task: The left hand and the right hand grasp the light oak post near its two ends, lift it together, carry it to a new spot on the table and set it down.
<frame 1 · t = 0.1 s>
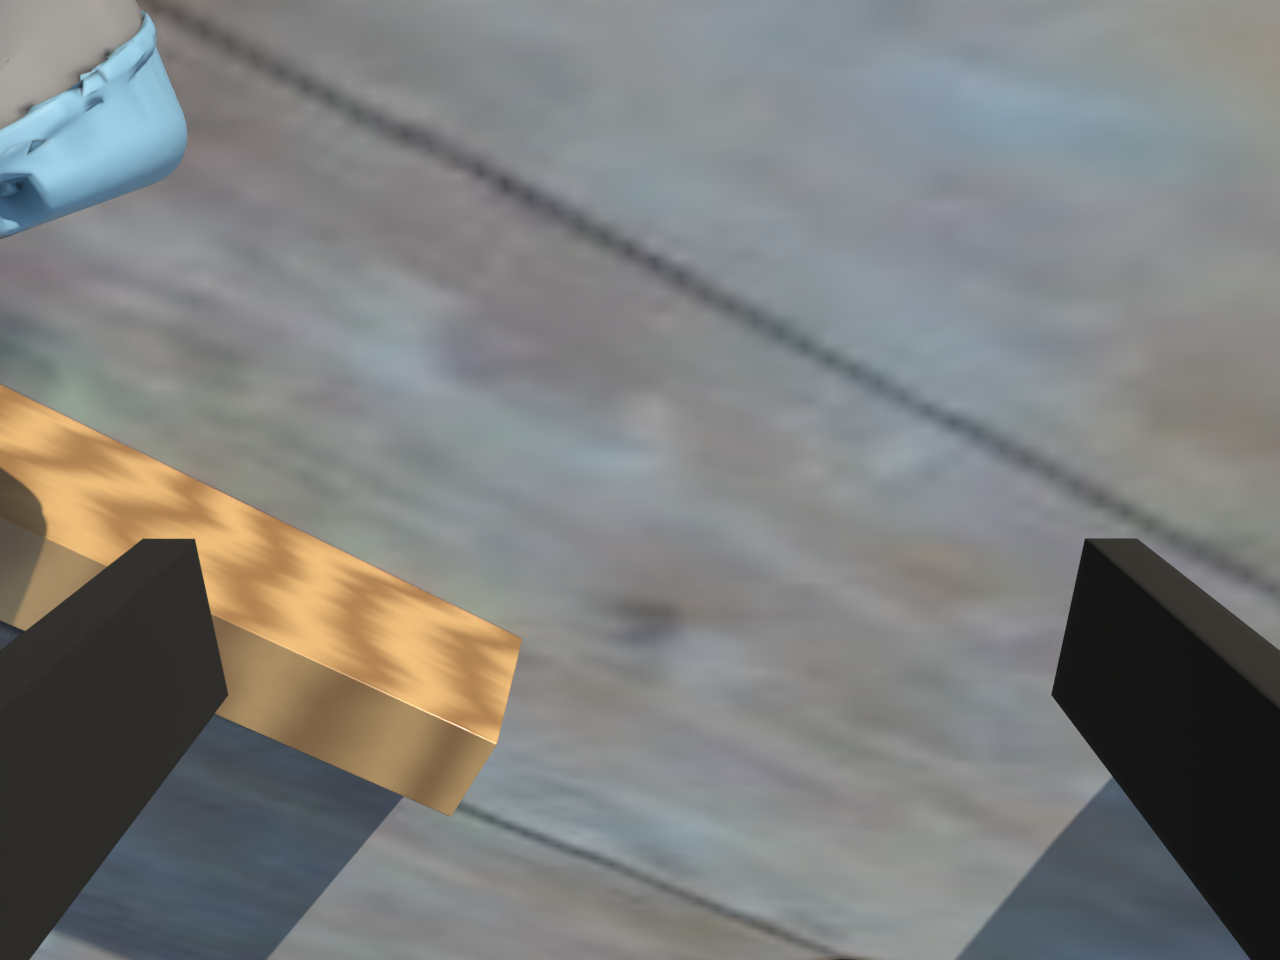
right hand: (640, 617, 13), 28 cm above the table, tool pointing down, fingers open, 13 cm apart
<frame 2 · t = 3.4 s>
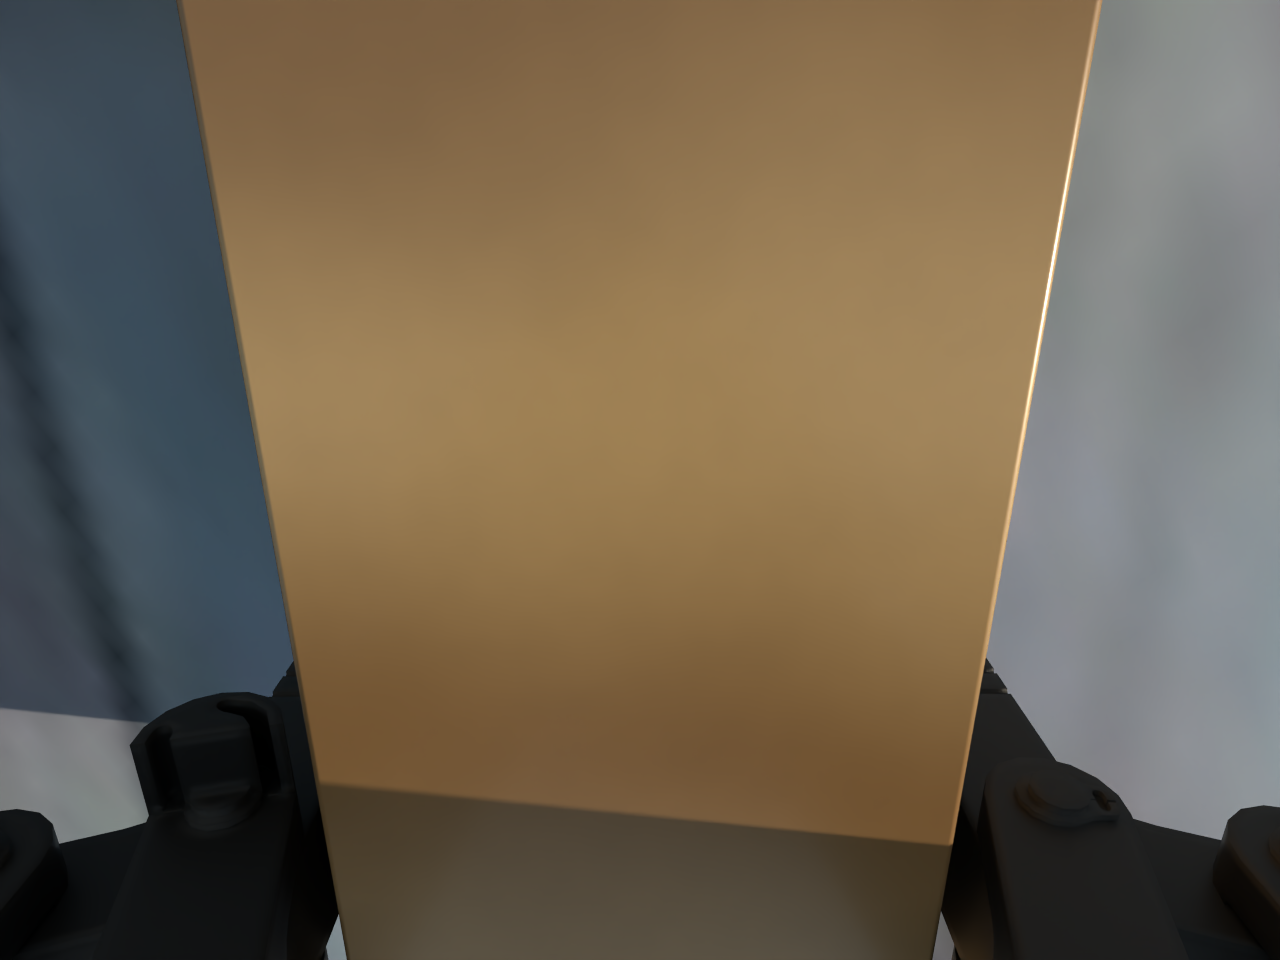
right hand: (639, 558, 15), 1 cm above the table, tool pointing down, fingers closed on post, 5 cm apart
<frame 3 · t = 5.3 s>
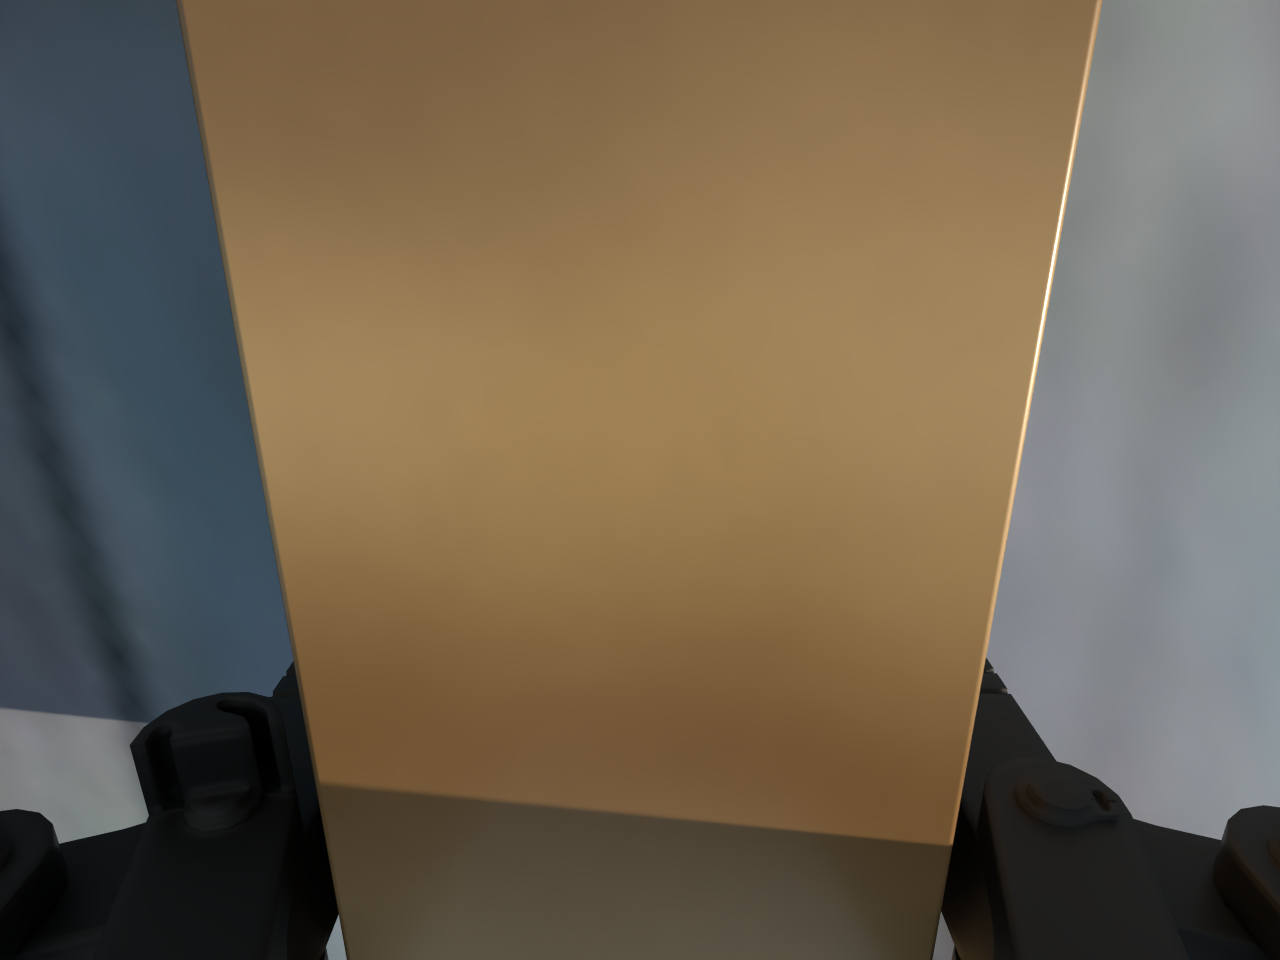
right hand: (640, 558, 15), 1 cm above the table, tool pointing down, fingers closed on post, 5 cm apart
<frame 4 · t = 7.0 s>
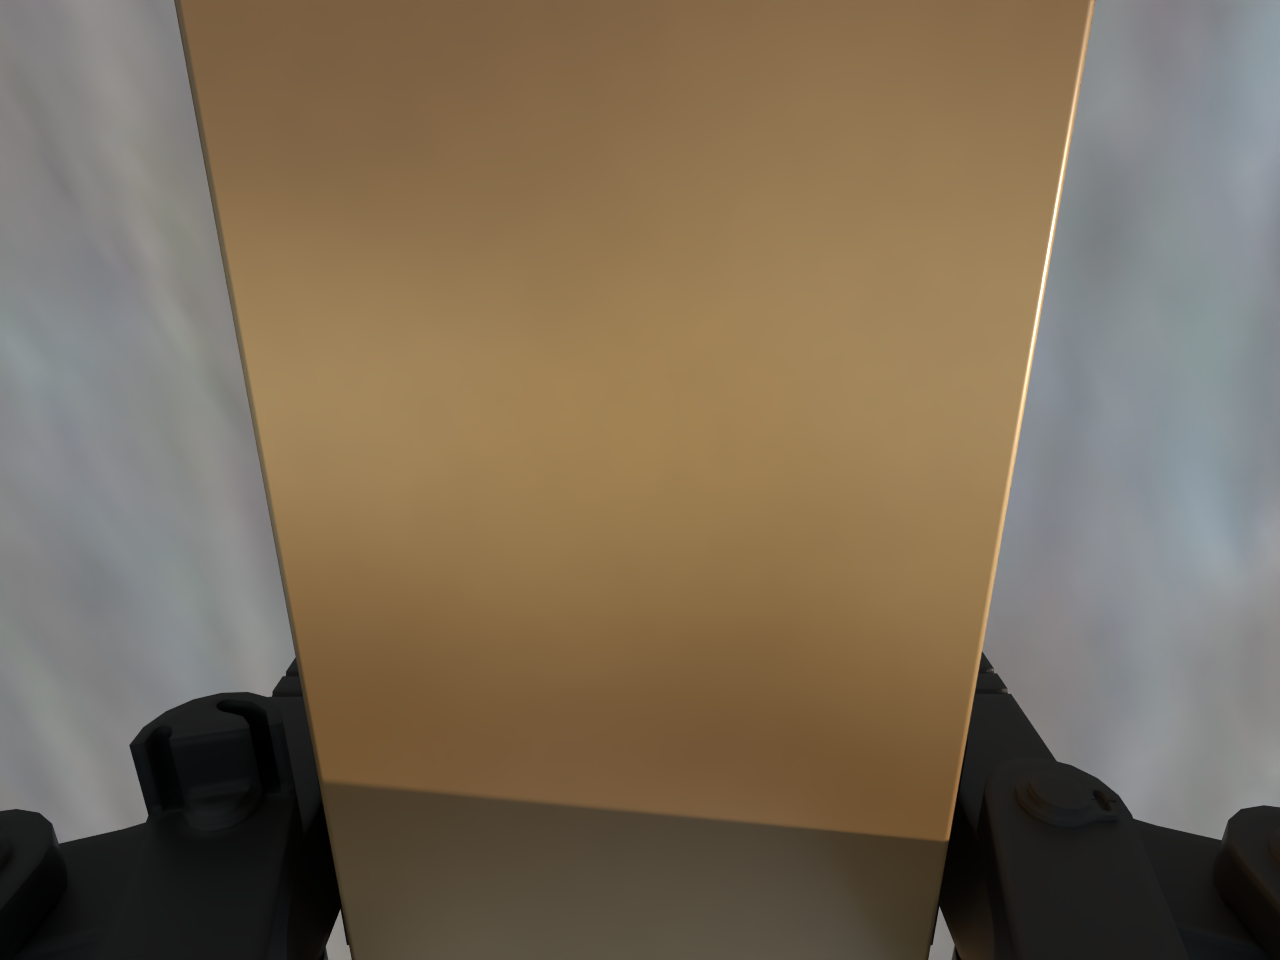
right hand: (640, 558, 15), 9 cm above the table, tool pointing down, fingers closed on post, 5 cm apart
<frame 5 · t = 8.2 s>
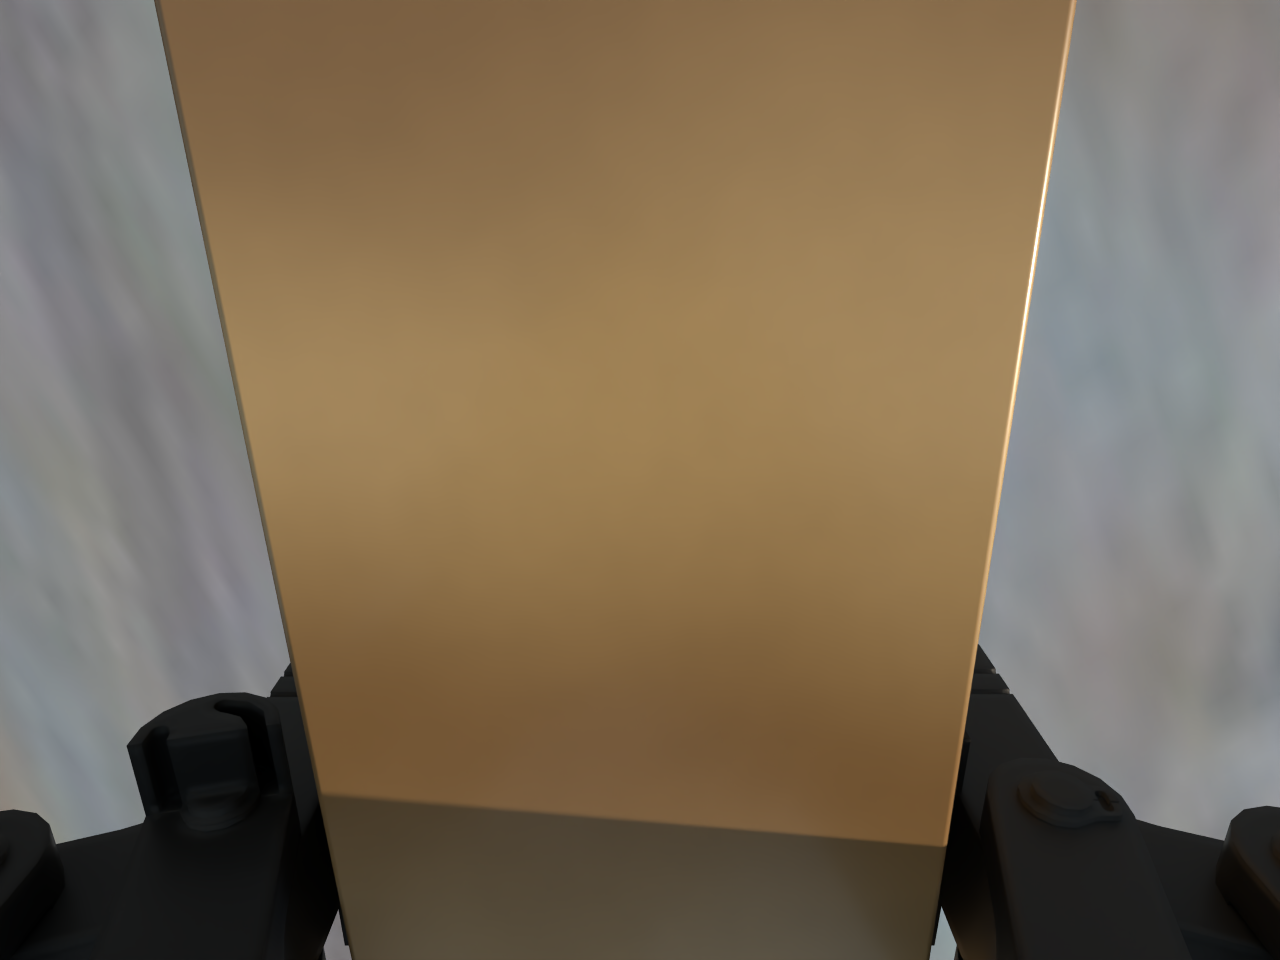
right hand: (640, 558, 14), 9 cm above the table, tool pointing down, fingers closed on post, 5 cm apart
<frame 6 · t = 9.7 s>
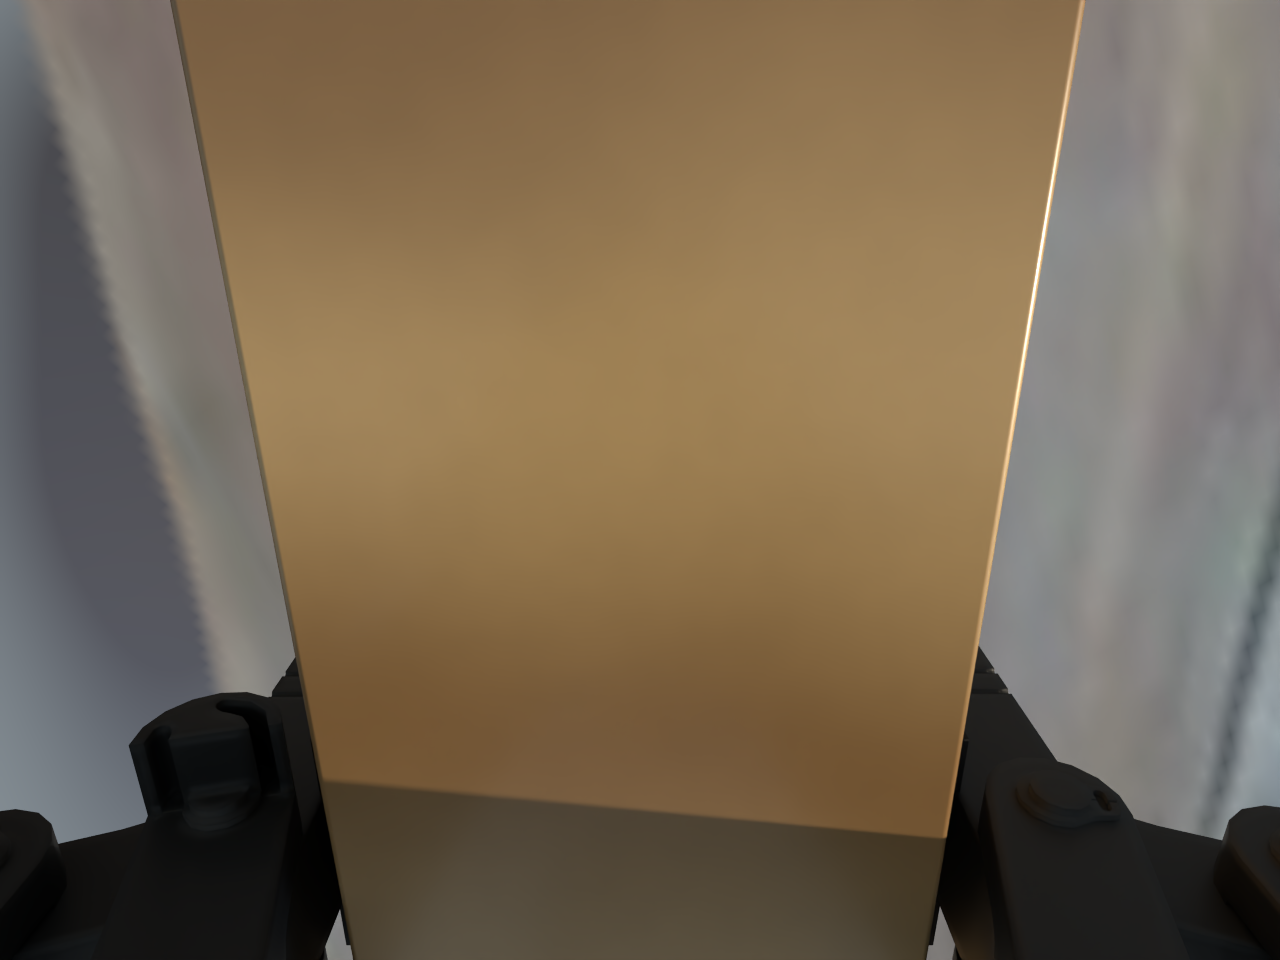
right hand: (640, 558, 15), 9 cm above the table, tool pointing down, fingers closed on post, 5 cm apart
when the left hand's fingers open (1 cm above the table, at t = 11.1 s): post stays where it is, on the table.
when the right hand's fingers open (2 cm above the table, at t = 11.1 s): post stays where it is, on the table.
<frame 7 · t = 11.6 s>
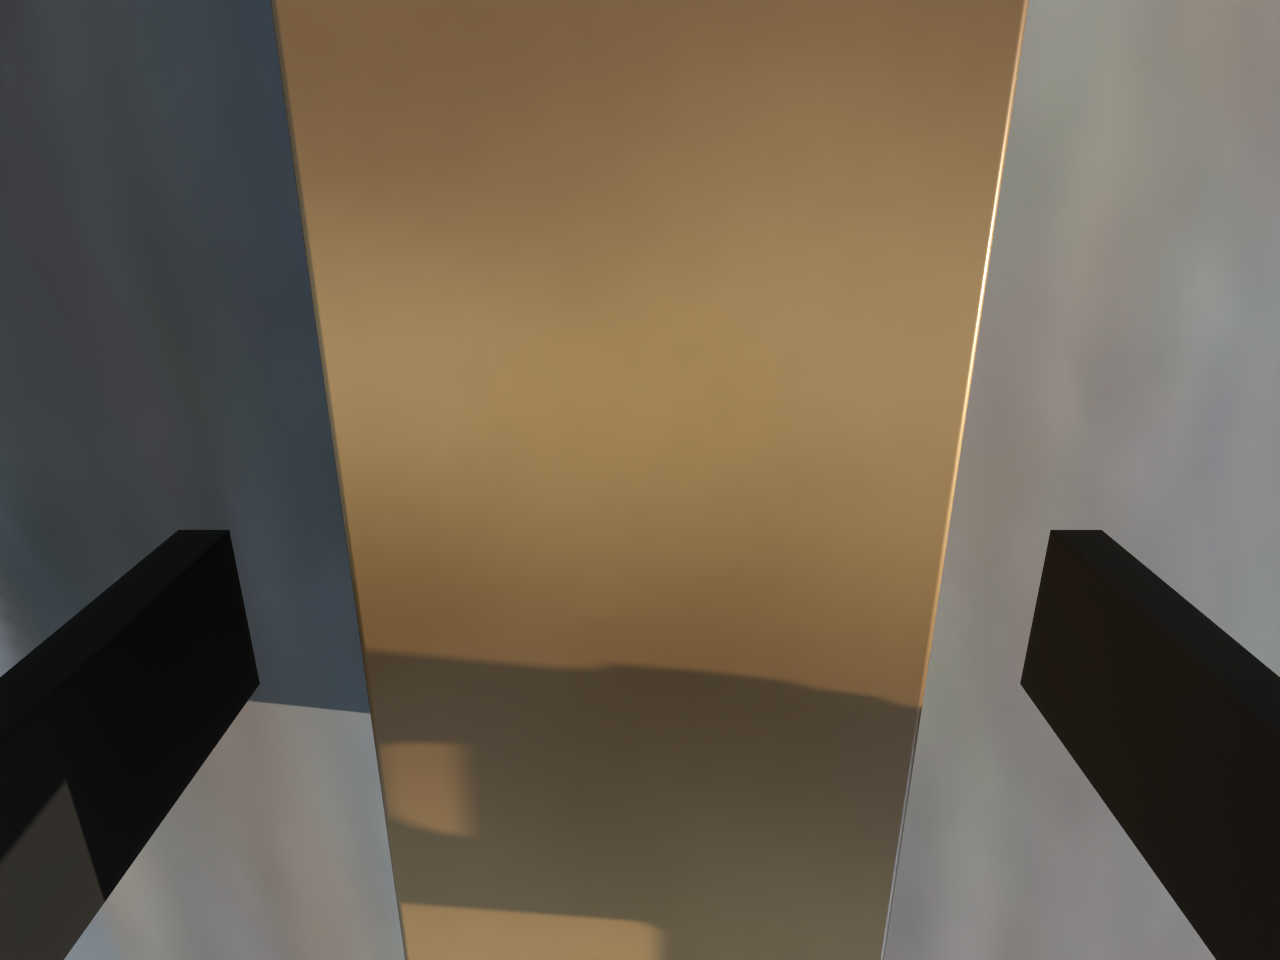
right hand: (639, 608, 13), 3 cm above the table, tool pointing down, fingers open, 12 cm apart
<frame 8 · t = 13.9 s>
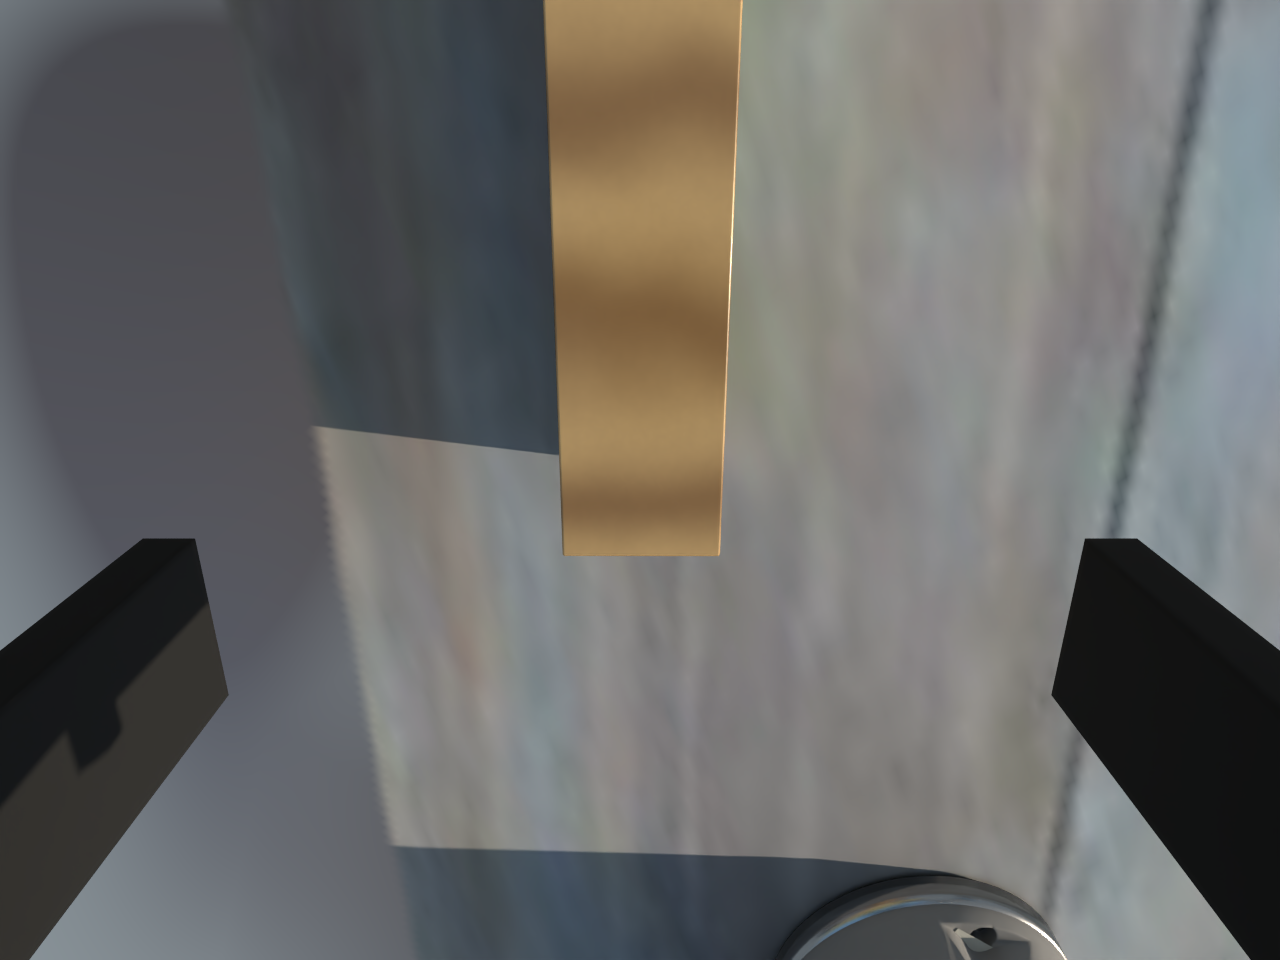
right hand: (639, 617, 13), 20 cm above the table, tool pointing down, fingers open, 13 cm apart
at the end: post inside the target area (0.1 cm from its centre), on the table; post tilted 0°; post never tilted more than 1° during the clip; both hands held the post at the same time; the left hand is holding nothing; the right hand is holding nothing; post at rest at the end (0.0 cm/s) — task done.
